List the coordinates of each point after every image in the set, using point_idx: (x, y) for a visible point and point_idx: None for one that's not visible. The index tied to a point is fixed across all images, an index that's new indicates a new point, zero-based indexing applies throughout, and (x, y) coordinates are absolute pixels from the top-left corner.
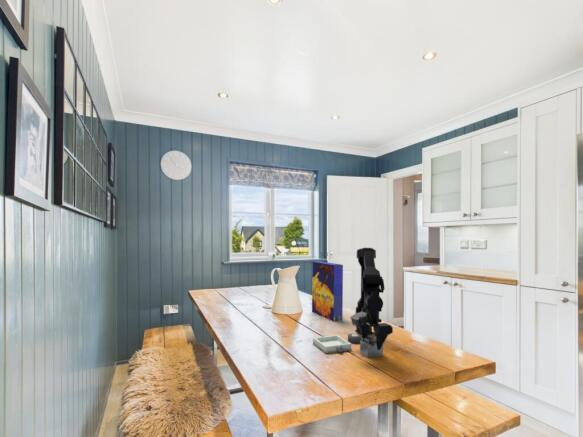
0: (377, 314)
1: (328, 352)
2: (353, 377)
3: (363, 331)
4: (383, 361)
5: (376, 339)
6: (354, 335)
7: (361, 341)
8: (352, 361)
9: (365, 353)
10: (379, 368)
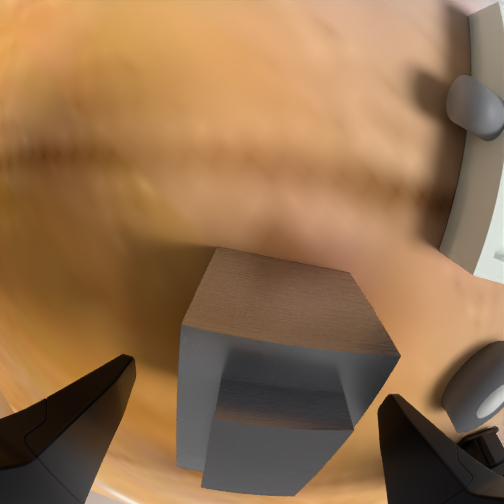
0: None
1: (472, 32)
2: None
3: (432, 483)
4: (97, 296)
5: (53, 429)
6: (496, 398)
7: (369, 349)
8: (219, 38)
9: (254, 265)
10: (24, 169)
